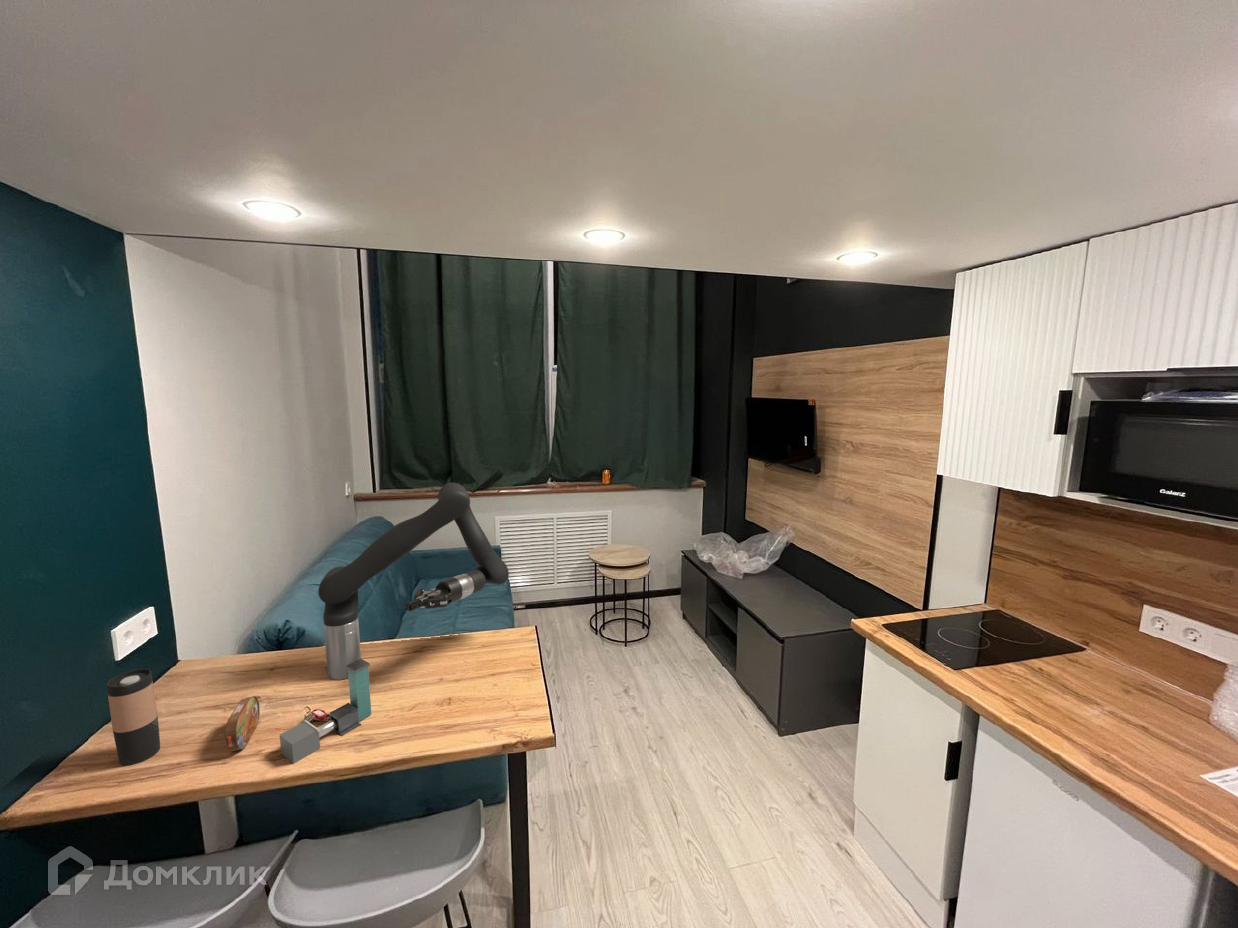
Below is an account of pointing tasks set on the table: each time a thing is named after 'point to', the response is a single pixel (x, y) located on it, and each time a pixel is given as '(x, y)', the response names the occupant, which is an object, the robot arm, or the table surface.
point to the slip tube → (354, 693)
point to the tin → (242, 723)
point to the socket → (299, 741)
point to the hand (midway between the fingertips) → (407, 607)
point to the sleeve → (345, 718)
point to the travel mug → (134, 716)
